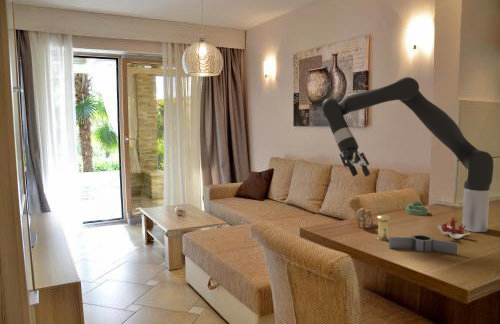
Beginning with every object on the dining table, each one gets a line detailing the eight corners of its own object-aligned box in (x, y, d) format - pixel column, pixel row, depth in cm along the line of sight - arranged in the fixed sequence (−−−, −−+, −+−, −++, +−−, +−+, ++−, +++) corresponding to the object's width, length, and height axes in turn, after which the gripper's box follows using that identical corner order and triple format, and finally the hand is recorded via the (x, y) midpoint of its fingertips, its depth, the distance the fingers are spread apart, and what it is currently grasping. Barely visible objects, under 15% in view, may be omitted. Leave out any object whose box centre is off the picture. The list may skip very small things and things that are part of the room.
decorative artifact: (414, 216, 190) (431, 214, 192) (414, 202, 189) (432, 200, 192) (401, 211, 199) (418, 210, 202) (401, 198, 198) (418, 196, 201)
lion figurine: (366, 231, 165) (367, 210, 164) (354, 229, 168) (354, 208, 167) (374, 222, 178) (374, 203, 177) (362, 221, 181) (362, 202, 180)
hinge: (395, 241, 151) (395, 231, 150) (458, 251, 139) (459, 240, 138) (388, 248, 143) (388, 237, 143) (454, 259, 131) (454, 247, 130)
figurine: (463, 244, 147) (464, 226, 146) (430, 238, 155) (431, 221, 154) (474, 235, 158) (475, 219, 157) (443, 230, 166) (443, 214, 165)
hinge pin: (378, 236, 157) (379, 214, 156) (390, 238, 155) (391, 216, 154) (374, 239, 153) (375, 217, 152) (387, 241, 151) (387, 218, 150)
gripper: (341, 134, 157) (358, 170, 151) (362, 137, 166) (379, 171, 160) (328, 144, 162) (344, 179, 156) (349, 146, 171) (364, 179, 165)
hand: (361, 175), depth 158 cm, fingers open, 8 cm apart
